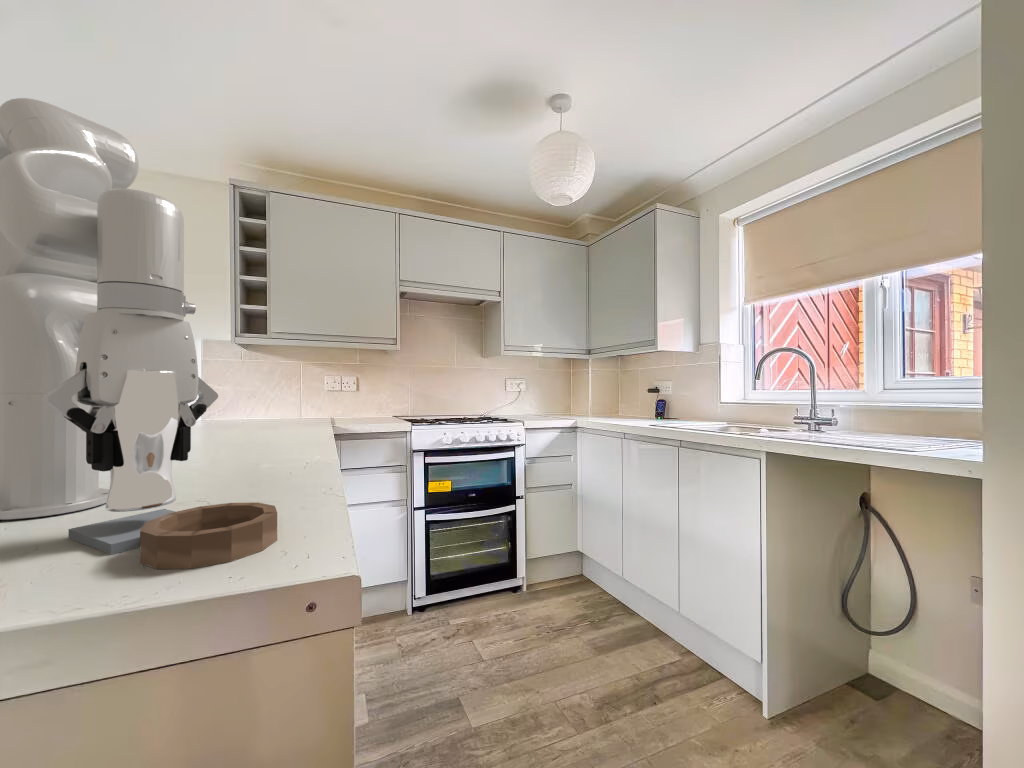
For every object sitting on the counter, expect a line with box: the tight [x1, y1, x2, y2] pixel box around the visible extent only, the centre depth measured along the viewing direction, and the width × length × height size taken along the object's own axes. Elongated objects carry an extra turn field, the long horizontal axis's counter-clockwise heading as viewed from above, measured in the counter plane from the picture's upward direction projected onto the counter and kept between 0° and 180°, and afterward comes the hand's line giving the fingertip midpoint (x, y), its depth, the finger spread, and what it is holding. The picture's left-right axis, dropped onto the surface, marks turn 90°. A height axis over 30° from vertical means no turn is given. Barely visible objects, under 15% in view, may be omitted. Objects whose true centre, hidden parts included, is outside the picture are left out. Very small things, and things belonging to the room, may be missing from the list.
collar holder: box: [139, 502, 278, 570], centre depth 46 cm, size 11×11×3 cm
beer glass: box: [105, 371, 181, 513], centre depth 50 cm, size 7×7×15 cm
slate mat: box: [67, 508, 176, 555], centre depth 50 cm, size 10×9×1 cm
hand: (142, 463), depth 50 cm, fingers closed on beer glass, 6 cm apart
